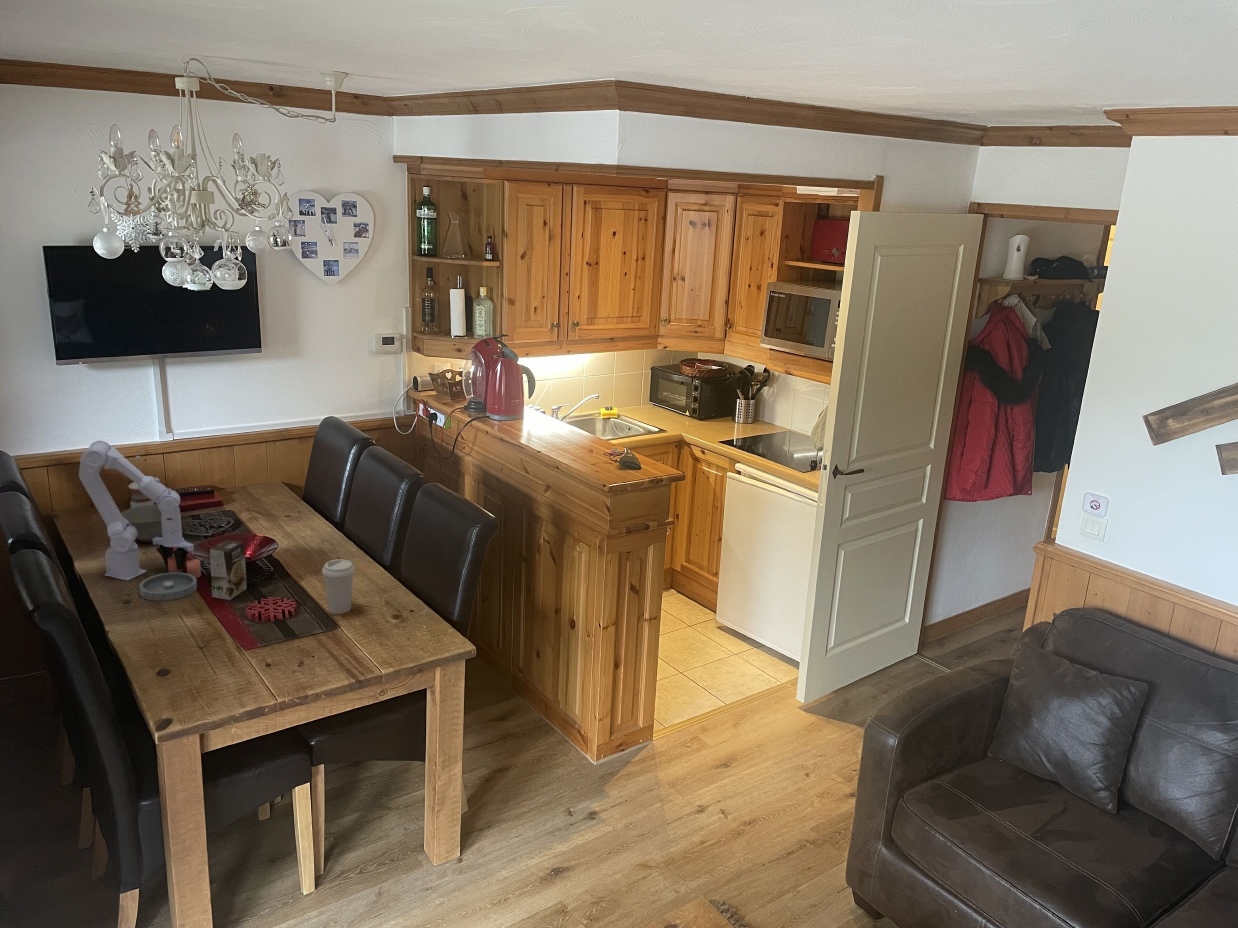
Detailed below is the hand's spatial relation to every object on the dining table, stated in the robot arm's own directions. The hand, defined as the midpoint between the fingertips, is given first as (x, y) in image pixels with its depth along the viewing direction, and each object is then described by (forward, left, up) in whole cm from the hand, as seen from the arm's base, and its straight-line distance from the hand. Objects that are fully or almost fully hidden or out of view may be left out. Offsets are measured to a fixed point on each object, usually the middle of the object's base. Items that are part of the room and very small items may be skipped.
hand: (175, 567), depth 299 cm
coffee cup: (+63, -2, -2) cm, 64 cm away
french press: (-44, +33, -2) cm, 55 cm away
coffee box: (+26, -6, -2) cm, 27 cm away
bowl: (-28, +19, -2) cm, 33 cm away
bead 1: (0, 0, -1) cm, 1 cm away
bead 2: (+7, 0, -2) cm, 8 cm away
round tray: (+8, -12, -1) cm, 15 cm away
